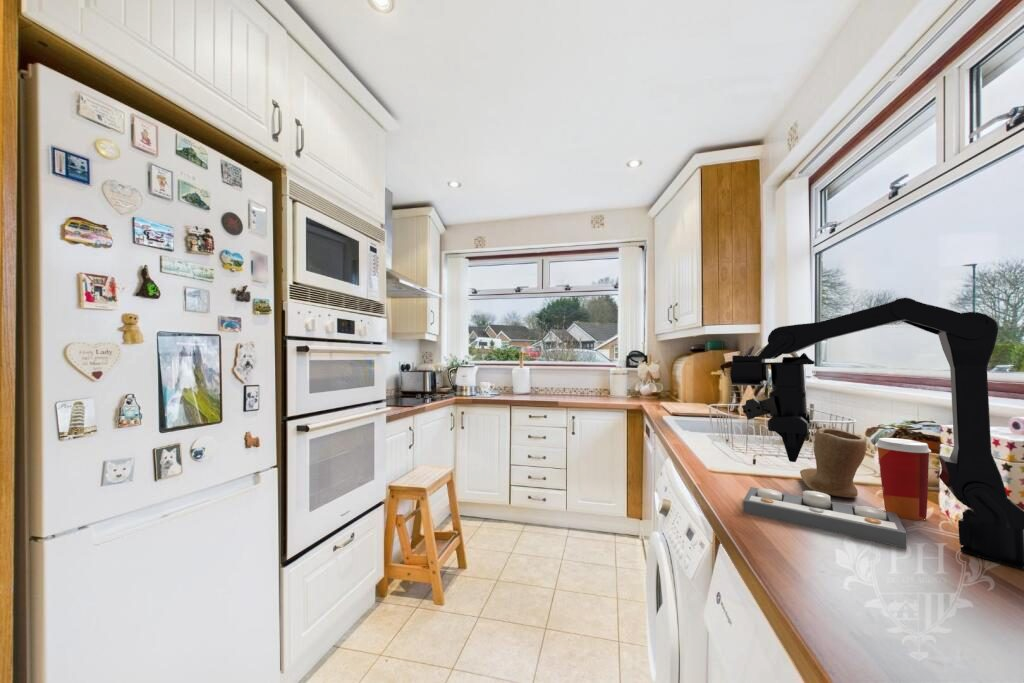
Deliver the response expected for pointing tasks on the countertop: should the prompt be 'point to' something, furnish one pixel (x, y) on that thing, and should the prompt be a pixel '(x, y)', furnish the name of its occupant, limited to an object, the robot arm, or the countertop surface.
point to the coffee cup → (904, 476)
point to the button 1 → (770, 494)
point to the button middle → (816, 499)
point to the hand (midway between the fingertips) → (792, 461)
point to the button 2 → (870, 513)
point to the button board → (827, 518)
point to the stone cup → (835, 462)
